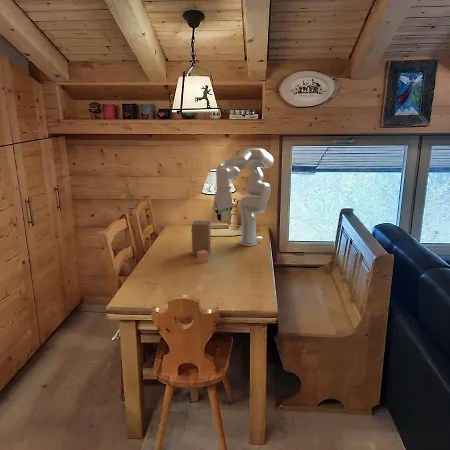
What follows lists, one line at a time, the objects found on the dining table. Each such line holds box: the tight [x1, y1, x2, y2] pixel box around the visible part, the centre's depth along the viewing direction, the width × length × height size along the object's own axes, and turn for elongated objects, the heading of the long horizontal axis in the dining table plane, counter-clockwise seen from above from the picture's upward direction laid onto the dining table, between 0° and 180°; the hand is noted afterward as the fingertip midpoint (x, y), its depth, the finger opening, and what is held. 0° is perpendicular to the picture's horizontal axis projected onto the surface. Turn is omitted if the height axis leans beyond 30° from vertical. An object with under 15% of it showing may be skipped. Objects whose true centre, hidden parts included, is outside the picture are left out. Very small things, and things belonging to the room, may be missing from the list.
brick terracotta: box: [196, 250, 210, 264], centre depth 245 cm, size 5×5×6 cm
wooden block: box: [191, 220, 212, 257], centre depth 257 cm, size 10×10×20 cm
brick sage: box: [220, 208, 230, 222], centre depth 247 cm, size 5×5×6 cm
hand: (223, 219), depth 247 cm, fingers closed on brick sage, 5 cm apart
